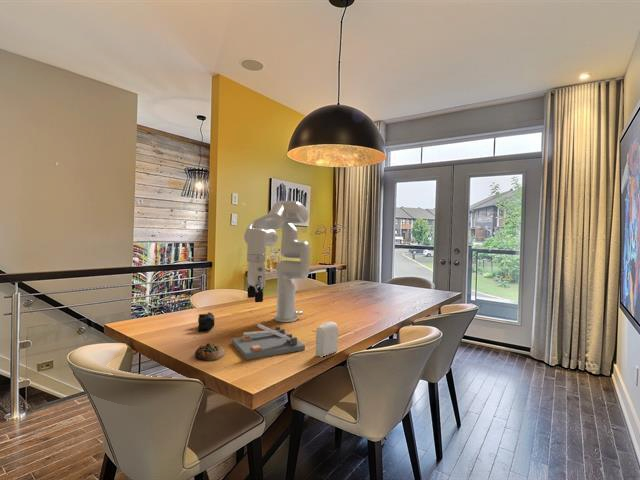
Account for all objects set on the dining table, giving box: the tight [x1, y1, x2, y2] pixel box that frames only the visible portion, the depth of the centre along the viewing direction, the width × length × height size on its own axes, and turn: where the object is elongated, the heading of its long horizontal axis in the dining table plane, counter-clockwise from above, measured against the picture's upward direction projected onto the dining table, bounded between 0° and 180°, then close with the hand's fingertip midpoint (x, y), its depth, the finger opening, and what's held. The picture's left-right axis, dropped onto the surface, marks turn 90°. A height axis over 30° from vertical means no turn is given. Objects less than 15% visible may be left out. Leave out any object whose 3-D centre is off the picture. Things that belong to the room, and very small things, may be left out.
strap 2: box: [256, 323, 293, 342], centre depth 133 cm, size 17×3×2 cm, turn 121°
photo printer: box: [315, 321, 339, 358], centre depth 132 cm, size 10×4×12 cm, turn 140°
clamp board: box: [231, 325, 306, 361], centre depth 137 cm, size 24×20×5 cm
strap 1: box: [242, 328, 281, 337], centre depth 143 cm, size 17×3×2 cm, turn 120°
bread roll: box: [194, 343, 225, 362], centre depth 126 cm, size 11×11×5 cm
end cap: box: [197, 312, 215, 333], centre depth 159 cm, size 10×7×7 cm
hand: (255, 299), depth 139 cm, fingers open, 9 cm apart
